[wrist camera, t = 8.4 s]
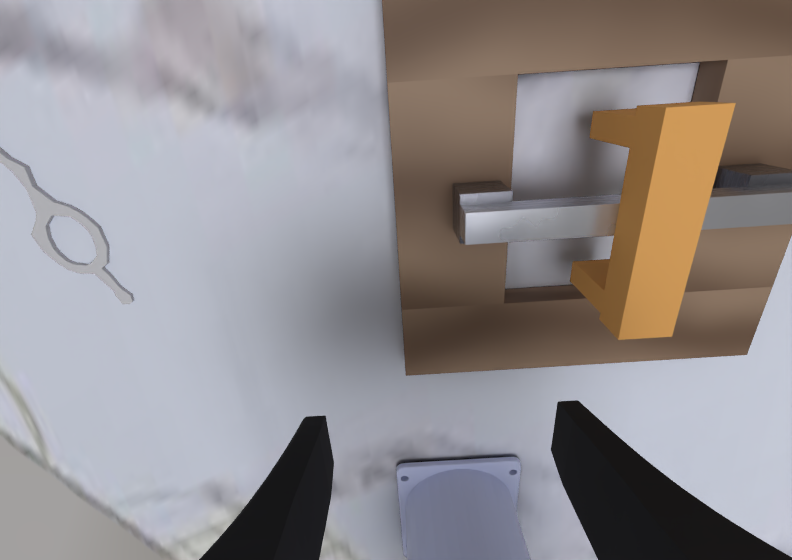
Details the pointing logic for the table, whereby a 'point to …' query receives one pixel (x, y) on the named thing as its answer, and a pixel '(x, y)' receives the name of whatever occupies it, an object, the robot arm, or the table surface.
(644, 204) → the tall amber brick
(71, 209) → the scissors
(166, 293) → the table surface
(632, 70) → the table surface
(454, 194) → the hook bar
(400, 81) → the brown wooden frame
